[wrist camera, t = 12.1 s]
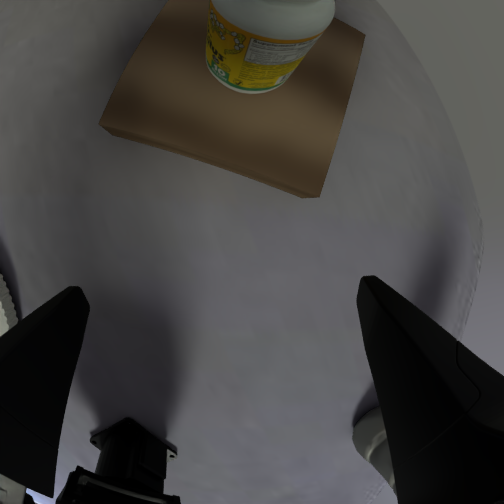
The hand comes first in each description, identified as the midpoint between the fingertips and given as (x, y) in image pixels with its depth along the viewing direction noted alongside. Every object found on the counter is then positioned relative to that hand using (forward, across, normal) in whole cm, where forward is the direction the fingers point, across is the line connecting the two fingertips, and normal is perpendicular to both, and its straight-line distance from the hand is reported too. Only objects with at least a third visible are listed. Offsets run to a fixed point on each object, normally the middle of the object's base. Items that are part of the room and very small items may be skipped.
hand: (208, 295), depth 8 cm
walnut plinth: (+15, -1, -6) cm, 17 cm away
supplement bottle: (+13, -1, -7) cm, 15 cm away
